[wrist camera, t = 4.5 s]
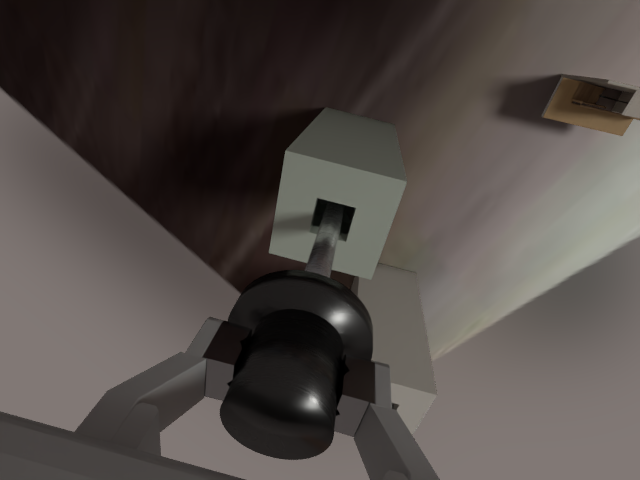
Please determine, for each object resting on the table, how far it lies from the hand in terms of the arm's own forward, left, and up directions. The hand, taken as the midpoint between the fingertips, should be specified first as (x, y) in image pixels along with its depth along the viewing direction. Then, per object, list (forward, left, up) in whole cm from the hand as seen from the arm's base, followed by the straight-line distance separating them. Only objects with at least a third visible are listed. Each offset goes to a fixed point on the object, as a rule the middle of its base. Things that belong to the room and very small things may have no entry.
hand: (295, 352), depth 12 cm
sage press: (0, 0, -28) cm, 28 cm away
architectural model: (-19, -10, -28) cm, 35 cm away
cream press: (-8, +16, -28) cm, 33 cm away
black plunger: (0, 0, -16) cm, 16 cm away
